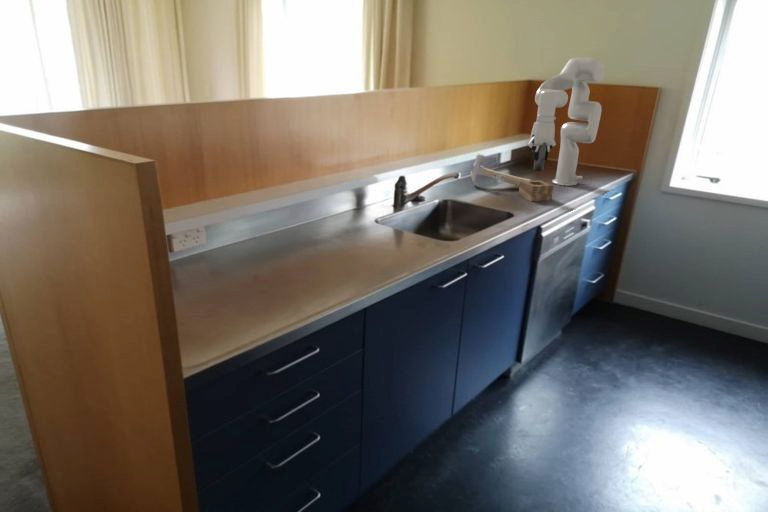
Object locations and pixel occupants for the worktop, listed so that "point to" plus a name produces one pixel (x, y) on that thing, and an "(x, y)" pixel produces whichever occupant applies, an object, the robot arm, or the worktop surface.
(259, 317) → the worktop surface
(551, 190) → the socket block
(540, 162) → the dark grey capped cylinder
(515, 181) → the hammer
